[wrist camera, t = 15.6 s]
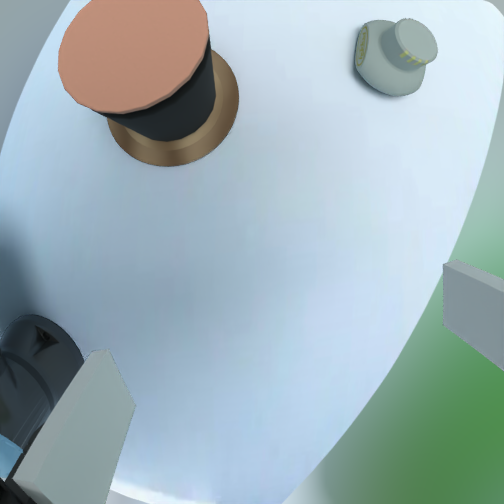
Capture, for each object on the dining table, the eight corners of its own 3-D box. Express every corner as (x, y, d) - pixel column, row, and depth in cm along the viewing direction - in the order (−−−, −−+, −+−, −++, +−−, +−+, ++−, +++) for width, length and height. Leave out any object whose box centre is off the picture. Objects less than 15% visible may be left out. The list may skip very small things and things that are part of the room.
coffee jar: (131, 62, 32) (72, -8, 15) (218, 57, 33) (215, -28, 15) (124, 144, 34) (48, 121, 17) (214, 142, 35) (204, 108, 18)
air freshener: (403, 107, 37) (445, 93, 27) (348, 88, 36) (383, 65, 26) (407, 43, 35) (446, 19, 25) (356, 22, 34) (387, -10, 24)
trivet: (123, 182, 37) (119, 182, 35) (101, 66, 33) (98, 63, 32) (251, 148, 37) (252, 147, 36) (223, 32, 33) (223, 27, 32)
